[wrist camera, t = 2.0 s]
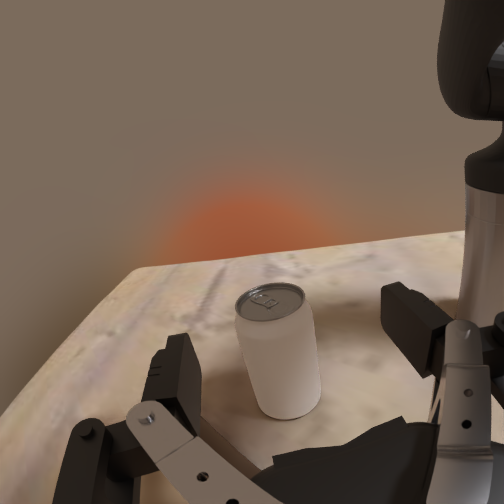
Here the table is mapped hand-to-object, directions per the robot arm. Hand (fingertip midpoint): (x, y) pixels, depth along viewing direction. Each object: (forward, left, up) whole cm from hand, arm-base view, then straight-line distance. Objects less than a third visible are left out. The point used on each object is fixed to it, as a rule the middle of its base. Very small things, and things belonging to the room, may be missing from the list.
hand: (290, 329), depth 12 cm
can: (-6, -9, -17) cm, 20 cm away
